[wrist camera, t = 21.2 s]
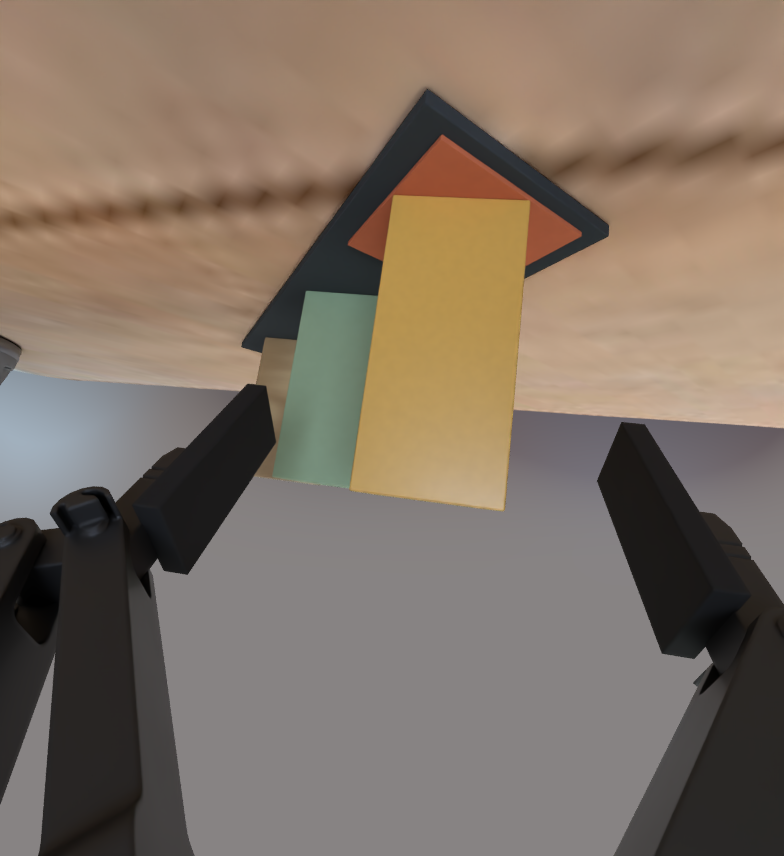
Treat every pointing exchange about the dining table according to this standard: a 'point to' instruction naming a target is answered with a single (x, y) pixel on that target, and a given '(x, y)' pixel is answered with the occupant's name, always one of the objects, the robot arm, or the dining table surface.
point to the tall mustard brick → (444, 353)
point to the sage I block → (326, 389)
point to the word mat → (426, 176)
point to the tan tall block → (275, 390)
